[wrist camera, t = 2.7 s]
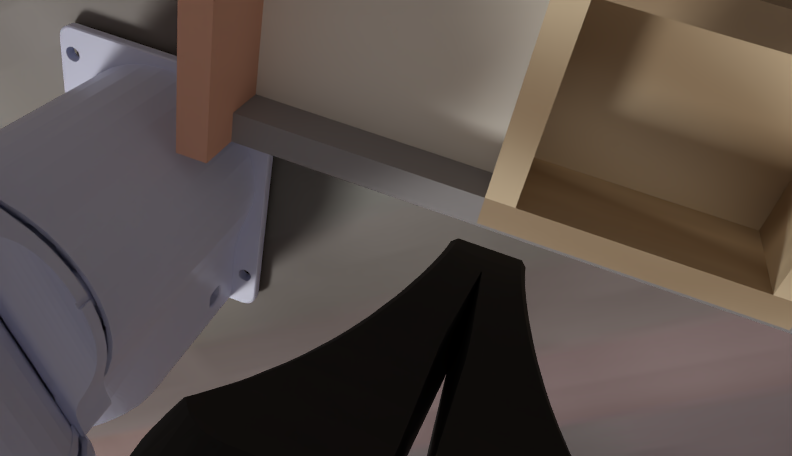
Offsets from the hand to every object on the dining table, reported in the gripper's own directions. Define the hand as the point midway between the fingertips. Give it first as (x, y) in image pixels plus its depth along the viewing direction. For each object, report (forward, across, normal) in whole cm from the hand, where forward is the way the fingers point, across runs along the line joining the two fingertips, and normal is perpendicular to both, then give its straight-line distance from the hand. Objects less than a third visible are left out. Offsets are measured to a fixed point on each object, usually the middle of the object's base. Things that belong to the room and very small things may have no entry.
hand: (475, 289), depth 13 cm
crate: (+8, -3, -2) cm, 9 cm away
